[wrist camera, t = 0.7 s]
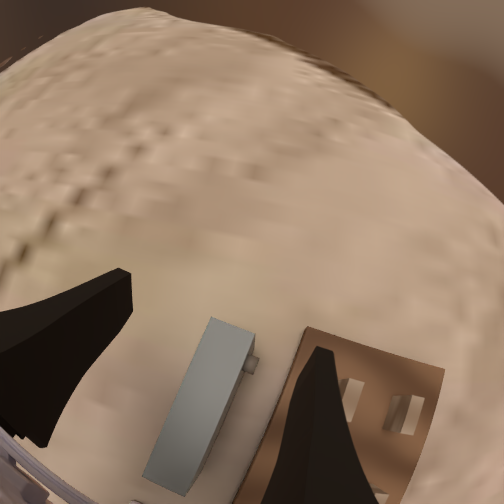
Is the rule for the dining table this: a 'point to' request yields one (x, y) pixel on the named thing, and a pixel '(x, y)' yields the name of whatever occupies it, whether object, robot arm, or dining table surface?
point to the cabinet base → (361, 414)
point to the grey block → (201, 406)
